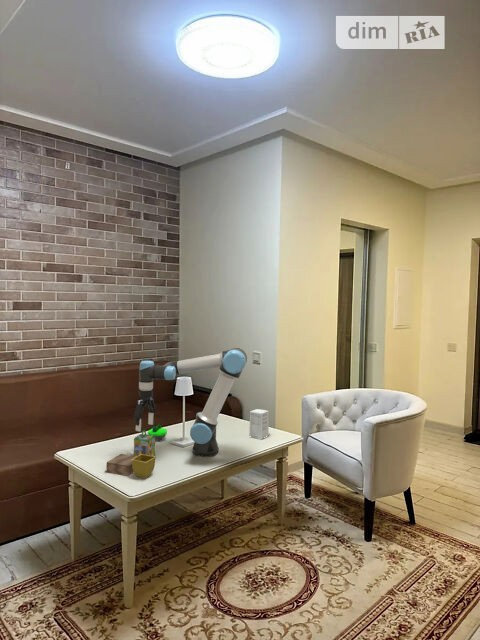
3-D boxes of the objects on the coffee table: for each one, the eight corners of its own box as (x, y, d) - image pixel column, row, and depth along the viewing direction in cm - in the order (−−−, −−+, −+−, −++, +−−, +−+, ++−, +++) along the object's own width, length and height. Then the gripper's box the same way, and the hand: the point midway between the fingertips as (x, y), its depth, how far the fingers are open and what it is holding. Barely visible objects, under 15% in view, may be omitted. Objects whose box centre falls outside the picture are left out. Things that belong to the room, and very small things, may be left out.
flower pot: (130, 477, 216) (131, 459, 215) (140, 471, 224) (141, 453, 223) (146, 480, 213) (146, 462, 212) (155, 474, 221) (156, 456, 220)
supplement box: (268, 436, 287) (269, 410, 287) (261, 440, 280) (262, 413, 279) (256, 433, 293) (256, 408, 292) (248, 437, 285) (249, 411, 284)
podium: (142, 466, 230) (142, 457, 230) (129, 475, 217) (129, 465, 217) (120, 463, 234) (121, 453, 234) (106, 472, 221) (106, 462, 221)
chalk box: (149, 461, 238) (149, 433, 237) (133, 459, 240) (133, 432, 239) (155, 455, 247) (156, 429, 246) (140, 453, 249) (140, 427, 248)
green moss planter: (163, 443, 268) (163, 425, 267) (144, 441, 270) (145, 423, 269) (169, 437, 279) (170, 420, 279) (152, 435, 281) (152, 418, 281)
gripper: (151, 384, 255) (149, 421, 256) (127, 392, 231) (126, 432, 232) (162, 385, 253) (161, 422, 254) (140, 394, 229) (138, 434, 230)
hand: (144, 427), depth 243 cm, fingers open, 13 cm apart
